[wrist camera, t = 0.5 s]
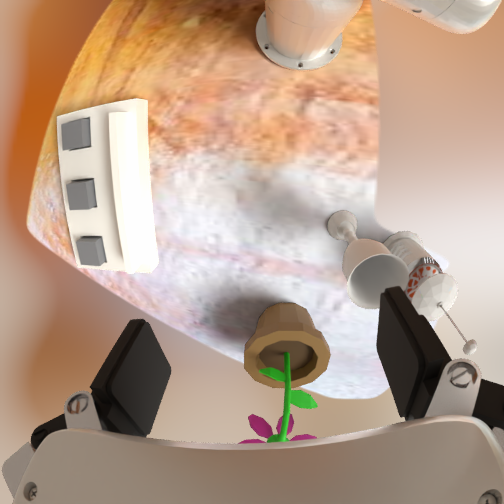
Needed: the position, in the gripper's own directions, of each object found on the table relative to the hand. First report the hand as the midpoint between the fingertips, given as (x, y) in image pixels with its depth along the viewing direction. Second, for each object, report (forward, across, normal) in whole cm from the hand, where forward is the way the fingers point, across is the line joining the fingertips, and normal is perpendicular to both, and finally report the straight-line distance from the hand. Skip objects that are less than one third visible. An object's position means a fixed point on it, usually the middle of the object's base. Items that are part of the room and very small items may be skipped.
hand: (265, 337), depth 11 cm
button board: (+34, +27, -4) cm, 44 cm away
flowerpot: (+35, +2, +27) cm, 44 cm away
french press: (+35, -21, +18) cm, 44 cm away
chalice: (+35, -10, +9) cm, 37 cm away
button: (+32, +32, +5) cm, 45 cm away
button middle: (+32, +30, -5) cm, 44 cm away
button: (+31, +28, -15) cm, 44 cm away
